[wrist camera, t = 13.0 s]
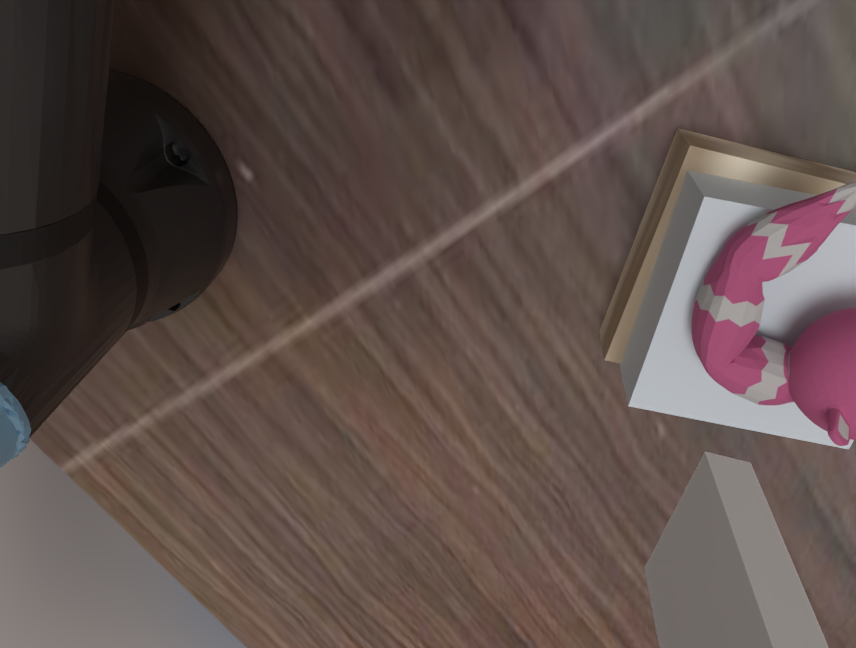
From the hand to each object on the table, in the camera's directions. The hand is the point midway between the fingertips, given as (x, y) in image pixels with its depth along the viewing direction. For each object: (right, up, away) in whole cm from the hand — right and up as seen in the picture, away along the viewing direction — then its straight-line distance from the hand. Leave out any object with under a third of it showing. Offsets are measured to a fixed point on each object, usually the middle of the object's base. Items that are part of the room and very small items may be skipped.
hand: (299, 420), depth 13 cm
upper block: (+20, +3, +28) cm, 35 cm away
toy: (+21, +3, +24) cm, 32 cm away
